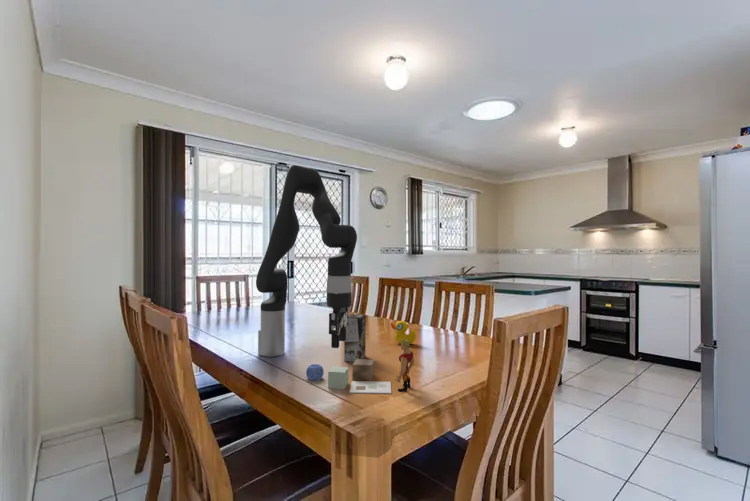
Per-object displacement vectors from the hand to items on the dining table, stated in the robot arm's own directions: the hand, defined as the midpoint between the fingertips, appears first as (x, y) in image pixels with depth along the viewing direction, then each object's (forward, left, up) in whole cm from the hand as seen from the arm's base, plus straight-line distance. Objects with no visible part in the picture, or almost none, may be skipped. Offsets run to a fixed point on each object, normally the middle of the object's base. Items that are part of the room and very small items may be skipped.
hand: (339, 344), depth 117 cm
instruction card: (+10, 0, -13) cm, 16 cm away
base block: (+6, +9, -13) cm, 17 cm away
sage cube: (0, 0, -13) cm, 13 cm away
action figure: (+20, +1, -13) cm, 24 cm away
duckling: (+15, +55, -13) cm, 58 cm away
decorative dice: (-9, +5, -13) cm, 17 cm away
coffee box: (-1, +29, -13) cm, 32 cm away
